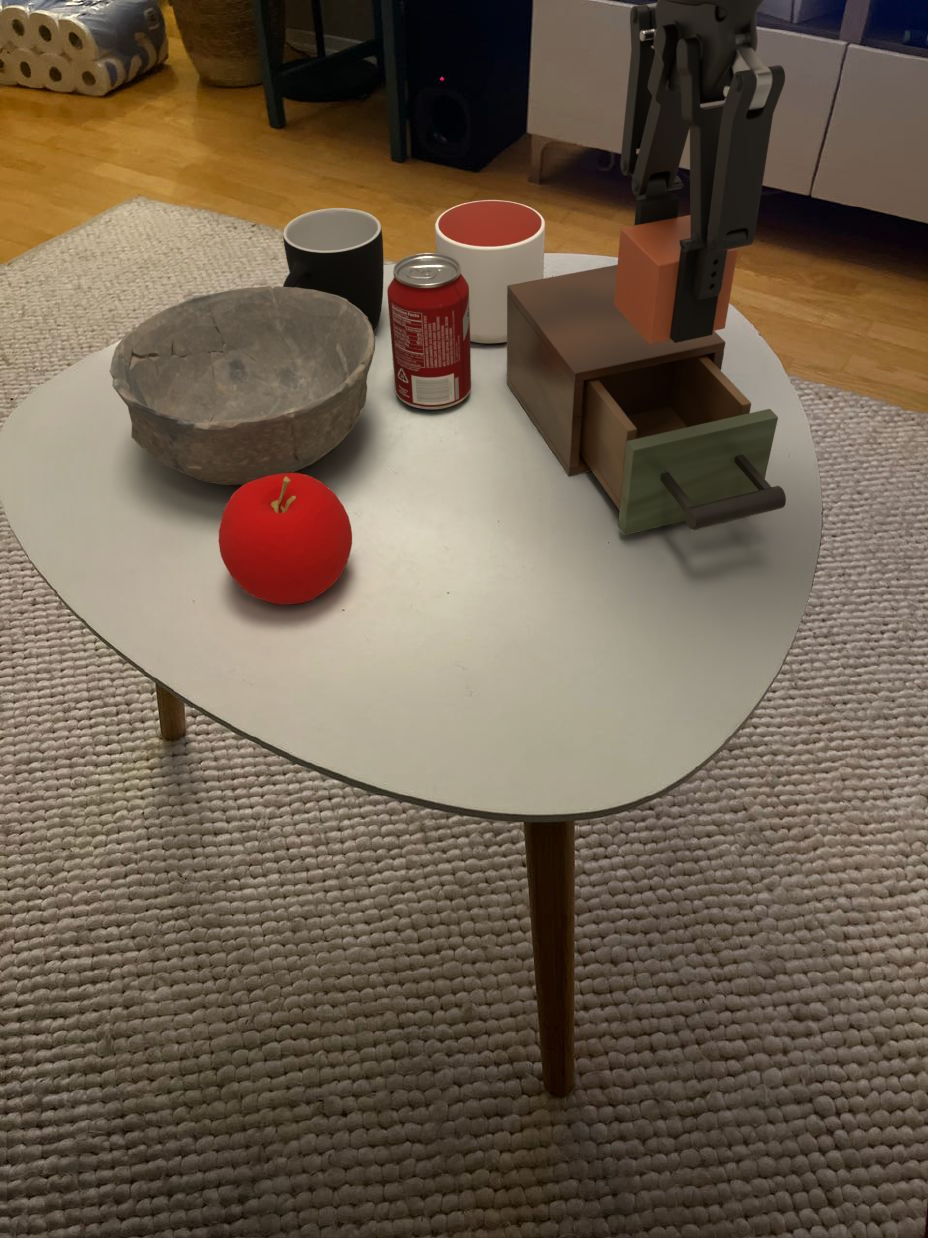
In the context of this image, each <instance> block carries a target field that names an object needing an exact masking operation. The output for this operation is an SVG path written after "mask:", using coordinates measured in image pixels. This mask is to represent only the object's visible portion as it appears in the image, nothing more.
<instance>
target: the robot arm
mask: <svg viewBox="0 0 928 1238" xmlns="http://www.w3.org/2000/svg"><path fill="white" fill-rule="evenodd" d="M656 1H657V2H654V3H647V4H646V3H645V4H638V5H634V6H632V7H631V9H630V13H629V25H630V27H629V28H630V47H631V50H630V60H629V70H628V78H627V79H628V80H627V81H628V82H627V91H626V101H625V112H624V120H623V121H624V122H623V133H622V140H621V141H622V142H621V152H620V162H619V164H620V166H619V167H620V171H621V173H622V175H623V176H631V178H632V179H631V183H630V184H631V190H632V193H633V195H634V197H636V202H635V203H636V204H635V214H634V222H633V223H634V224H633V226H635V225H640V224H645V223H651V222H656V221H662V220H667V219H672V218H678V215H679V208H680V199H681V198H680V197H679V196H678V195H677V194H676V193H671V194H666V193H667V192H668V191H673V190H680V189H682V188H683V187H684V183H683V181H682V180H681V178H680V176H679V175H677V174H678V171H679V167H680V163H681V160H682V157H683V153H684V150H685V146H686V143H687V139H688V135H689V192H690V193H689V198H690V199H689V200H690V201H689V208H690V209H689V210H690V211H689V212H690V213H689V215H690V224H691V238H688V239H683V240H679V242H680V247H681V250H680V258H679V268H678V276H677V284H676V292H675V300H674V308H673V315H672V323H671V331H670V338H671V339H672V341H673V342H674V343H677V342H682V341H687V340H691V339H696V338H700V337H705V336H710V335H712V334H713V328H714V321H715V315H716V309H717V302H718V296H719V293H720V291H721V288H722V280H723V274H724V269H725V263H726V256H727V251H728V250H729V249H734V248H736V249H738V248H743V247H749V246H752V245H753V243H754V240H755V237H756V230H757V223H758V217H759V209H760V204H761V196H762V190H763V184H764V176H765V171H766V163H767V157H768V150H769V144H770V137H771V130H772V125H773V118H774V112H775V110H776V107H777V104H778V102H779V99H780V97H781V94H782V91H783V89H784V86H785V83H786V73H785V69H784V67H783V66H782V65H780V64H778V65H777V64H776V65H769V66H765V64H764V63H763V60H761V58H760V57H759V55H758V54H757V49H758V41H759V40H758V39H759V38H758V31H757V30H758V28H757V18H758V17H757V16H758V10H759V8H760V6H761V4H762V3H763V2H764V1H765V0H656ZM717 102H724V103H719V104H713V105H708V106H702V107H701V105H705V104H711V103H717ZM637 151H638V152H637Z"/></svg>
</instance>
